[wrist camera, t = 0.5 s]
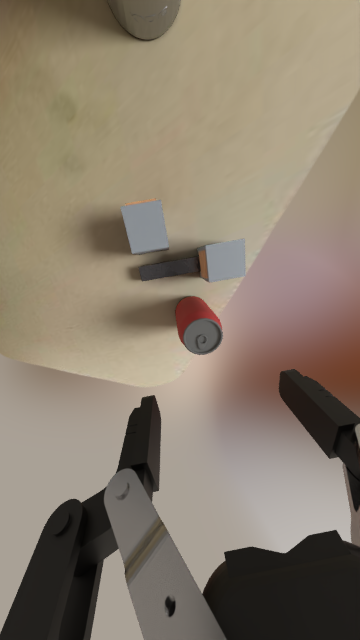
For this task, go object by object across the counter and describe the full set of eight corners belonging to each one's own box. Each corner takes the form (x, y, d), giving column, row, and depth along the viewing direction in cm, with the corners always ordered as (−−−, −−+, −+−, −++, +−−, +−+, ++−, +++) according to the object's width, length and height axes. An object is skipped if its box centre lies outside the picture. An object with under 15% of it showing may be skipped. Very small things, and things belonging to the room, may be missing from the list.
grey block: (139, 254, 30) (132, 253, 23) (130, 216, 28) (119, 202, 21) (168, 249, 30) (168, 247, 23) (161, 210, 28) (160, 196, 21)
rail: (140, 266, 30) (138, 267, 28) (226, 251, 30) (230, 250, 29) (143, 279, 31) (141, 281, 29) (227, 264, 31) (231, 265, 29)
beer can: (173, 325, 35) (176, 356, 24) (176, 293, 33) (182, 312, 21) (204, 327, 36) (221, 359, 24) (209, 297, 33) (231, 317, 22)
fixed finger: (194, 248, 30) (202, 245, 23) (227, 242, 30) (244, 238, 23) (198, 277, 32) (206, 283, 25) (229, 272, 32) (245, 276, 25)
